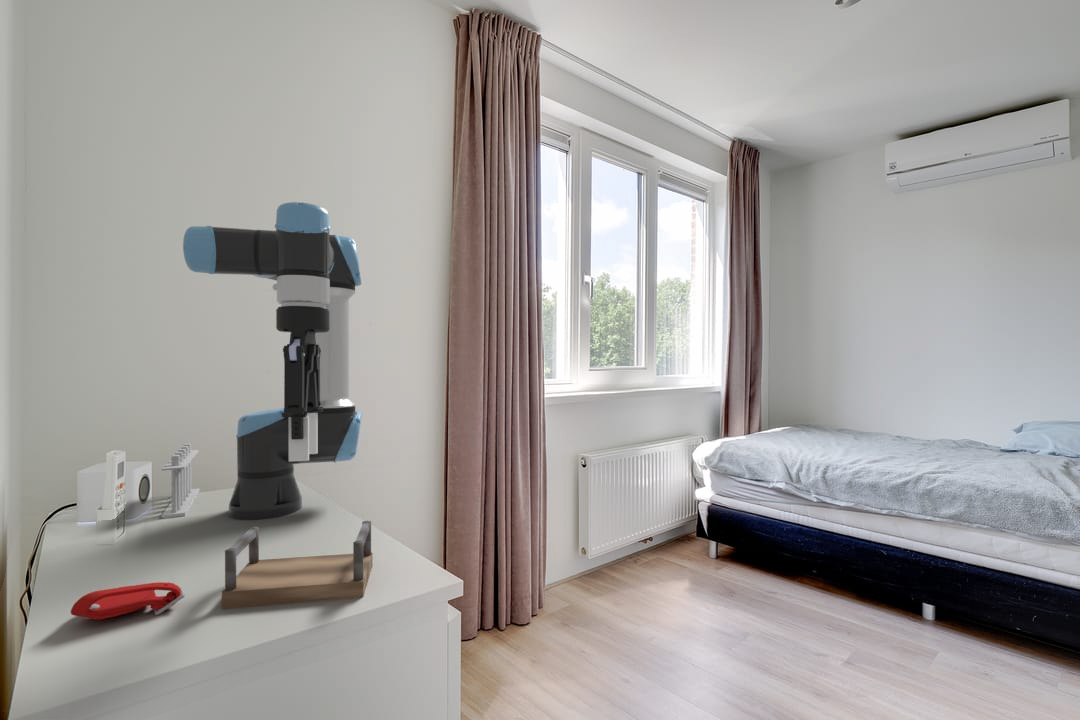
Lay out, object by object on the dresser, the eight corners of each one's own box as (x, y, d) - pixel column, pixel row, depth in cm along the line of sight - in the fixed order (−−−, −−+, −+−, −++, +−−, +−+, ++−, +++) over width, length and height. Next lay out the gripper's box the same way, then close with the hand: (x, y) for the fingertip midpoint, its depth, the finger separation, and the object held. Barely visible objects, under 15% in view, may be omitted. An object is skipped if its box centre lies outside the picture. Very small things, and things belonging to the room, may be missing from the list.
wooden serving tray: (250, 575, 88) (250, 526, 88) (372, 567, 91) (372, 519, 91) (222, 609, 76) (221, 553, 76) (363, 598, 80) (363, 544, 80)
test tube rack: (185, 516, 121) (185, 457, 121) (161, 518, 119) (161, 458, 119) (199, 491, 144) (199, 441, 144) (179, 493, 142) (179, 442, 142)
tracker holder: (128, 594, 81) (53, 625, 71) (129, 564, 81) (54, 591, 71) (193, 606, 78) (123, 640, 68) (194, 575, 78) (124, 605, 68)
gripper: (292, 311, 92) (293, 448, 92) (258, 299, 74) (258, 470, 74) (339, 311, 93) (339, 446, 93) (316, 300, 75) (316, 468, 75)
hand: (303, 456), depth 84 cm, fingers open, 5 cm apart
